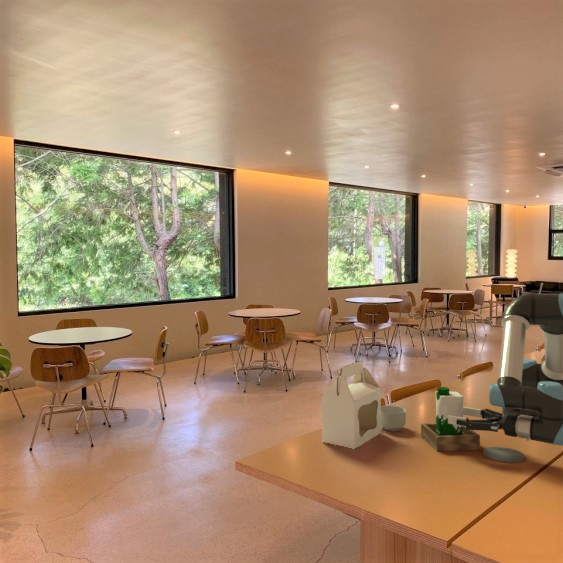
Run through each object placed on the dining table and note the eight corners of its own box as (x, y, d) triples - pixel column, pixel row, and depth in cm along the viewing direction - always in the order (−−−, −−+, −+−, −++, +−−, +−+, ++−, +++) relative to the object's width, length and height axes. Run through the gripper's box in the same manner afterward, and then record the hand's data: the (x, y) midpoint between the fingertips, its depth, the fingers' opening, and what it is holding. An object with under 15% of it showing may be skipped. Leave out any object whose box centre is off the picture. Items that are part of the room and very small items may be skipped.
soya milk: (433, 438, 192) (433, 385, 191) (458, 438, 192) (457, 385, 191) (440, 447, 183) (440, 391, 183) (466, 447, 183) (466, 391, 183)
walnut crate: (460, 435, 196) (460, 422, 196) (479, 449, 181) (479, 435, 181) (421, 436, 195) (421, 423, 195) (437, 451, 179) (437, 437, 179)
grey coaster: (511, 447, 182) (511, 446, 182) (533, 461, 169) (533, 460, 169) (476, 449, 181) (476, 447, 181) (494, 463, 168) (494, 461, 168)
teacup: (407, 425, 208) (407, 406, 208) (404, 434, 198) (404, 413, 197) (372, 422, 213) (372, 403, 212) (368, 431, 202) (368, 410, 202)
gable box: (351, 427, 208) (350, 357, 207) (381, 433, 200) (380, 360, 199) (321, 442, 190) (321, 366, 189) (354, 450, 182) (353, 371, 181)
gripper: (507, 447, 162) (441, 434, 176) (528, 427, 182) (468, 417, 195) (507, 424, 162) (441, 412, 176) (528, 406, 181) (468, 397, 195)
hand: (455, 414), depth 185 cm, fingers open, 13 cm apart
